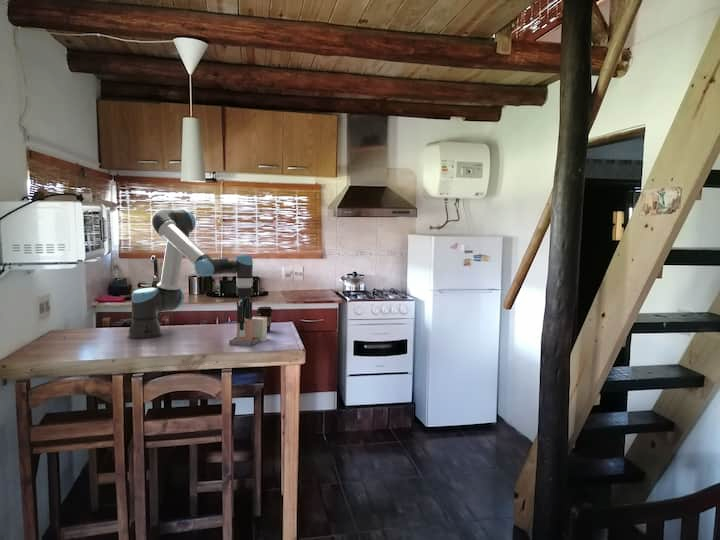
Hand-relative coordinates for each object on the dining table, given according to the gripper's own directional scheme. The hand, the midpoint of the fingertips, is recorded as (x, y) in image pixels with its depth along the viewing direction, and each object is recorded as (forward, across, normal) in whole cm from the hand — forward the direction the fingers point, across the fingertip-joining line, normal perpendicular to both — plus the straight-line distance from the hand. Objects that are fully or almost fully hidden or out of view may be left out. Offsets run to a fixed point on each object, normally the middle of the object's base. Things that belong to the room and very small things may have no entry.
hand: (245, 335), depth 229 cm
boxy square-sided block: (+4, +9, 0) cm, 10 cm away
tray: (+4, +1, +1) cm, 4 cm away
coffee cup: (+4, +28, +1) cm, 28 cm away
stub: (+3, 0, 0) cm, 4 cm away
